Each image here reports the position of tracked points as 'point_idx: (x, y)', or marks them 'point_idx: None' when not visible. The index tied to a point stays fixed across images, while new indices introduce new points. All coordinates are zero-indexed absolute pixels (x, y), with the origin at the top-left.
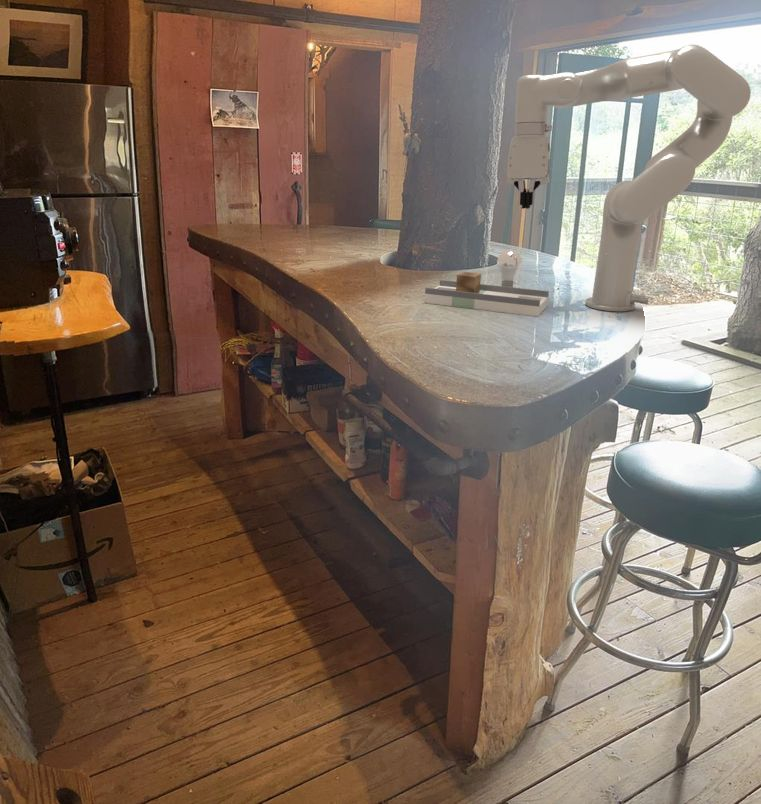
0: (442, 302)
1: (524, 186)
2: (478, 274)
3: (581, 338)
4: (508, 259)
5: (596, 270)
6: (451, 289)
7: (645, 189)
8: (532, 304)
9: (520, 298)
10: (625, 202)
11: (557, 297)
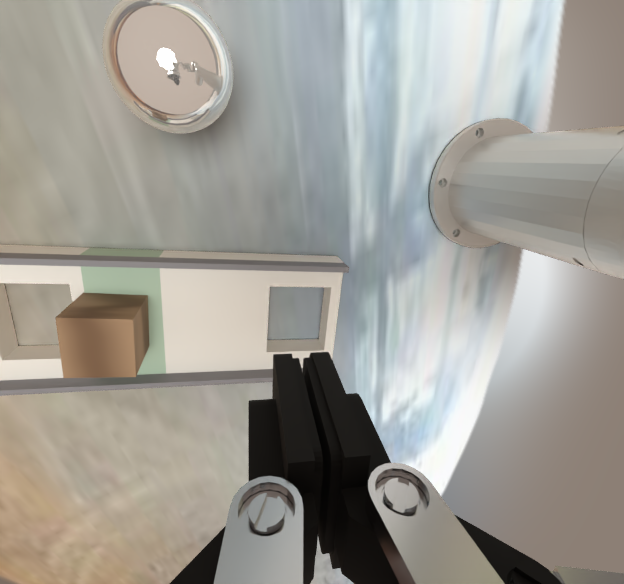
0: None
1: (292, 567)
2: (130, 337)
3: (402, 447)
4: (178, 127)
5: (508, 210)
6: (38, 282)
7: None
8: None
9: None
10: None
11: (358, 126)
